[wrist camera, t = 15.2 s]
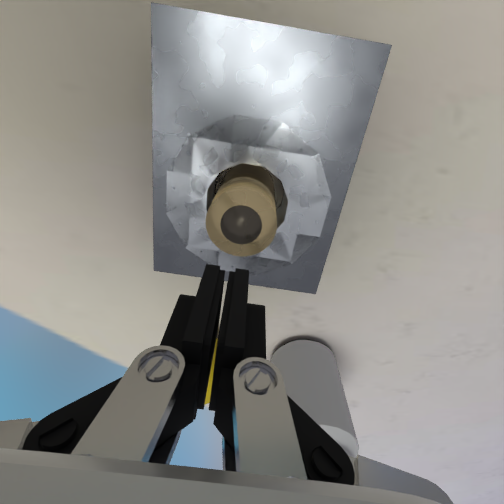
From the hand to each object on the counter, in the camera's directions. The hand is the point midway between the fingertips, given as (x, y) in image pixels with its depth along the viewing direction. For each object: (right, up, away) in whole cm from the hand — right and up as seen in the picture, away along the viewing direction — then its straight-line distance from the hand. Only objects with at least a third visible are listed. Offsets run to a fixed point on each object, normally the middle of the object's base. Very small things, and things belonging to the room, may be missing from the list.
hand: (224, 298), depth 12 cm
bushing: (+1, +7, +14) cm, 16 cm away
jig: (+1, +9, +13) cm, 16 cm away
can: (+7, -11, +23) cm, 27 cm away
